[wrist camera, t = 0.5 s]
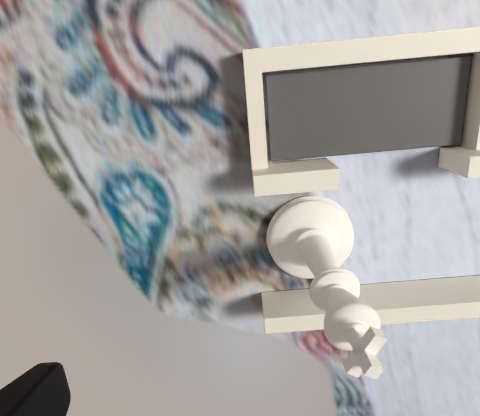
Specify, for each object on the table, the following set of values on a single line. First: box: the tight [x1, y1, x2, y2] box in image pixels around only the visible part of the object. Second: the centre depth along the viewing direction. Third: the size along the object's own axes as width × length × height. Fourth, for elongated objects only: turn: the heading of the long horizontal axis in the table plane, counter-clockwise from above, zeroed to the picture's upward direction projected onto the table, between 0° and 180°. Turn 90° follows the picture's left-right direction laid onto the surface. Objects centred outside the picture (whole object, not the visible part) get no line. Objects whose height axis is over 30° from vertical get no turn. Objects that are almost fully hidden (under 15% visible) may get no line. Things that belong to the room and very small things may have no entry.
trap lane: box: [242, 27, 480, 334], centre depth 17 cm, size 14×22×2 cm, turn 95°
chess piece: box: [266, 196, 387, 380], centre depth 15 cm, size 5×5×10 cm
